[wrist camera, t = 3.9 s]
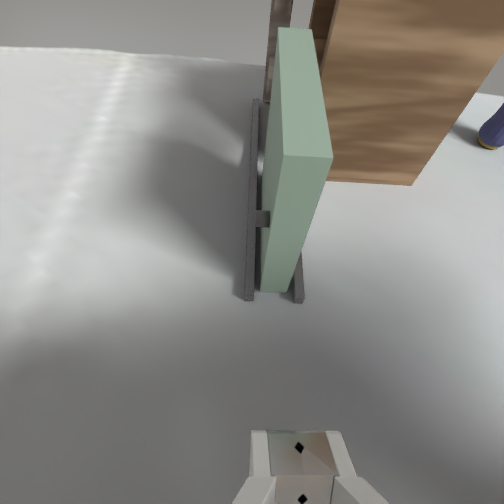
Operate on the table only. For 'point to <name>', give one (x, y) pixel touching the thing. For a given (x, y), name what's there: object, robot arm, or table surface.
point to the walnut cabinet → (394, 77)
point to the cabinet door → (292, 158)
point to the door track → (251, 233)
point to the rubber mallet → (493, 131)
